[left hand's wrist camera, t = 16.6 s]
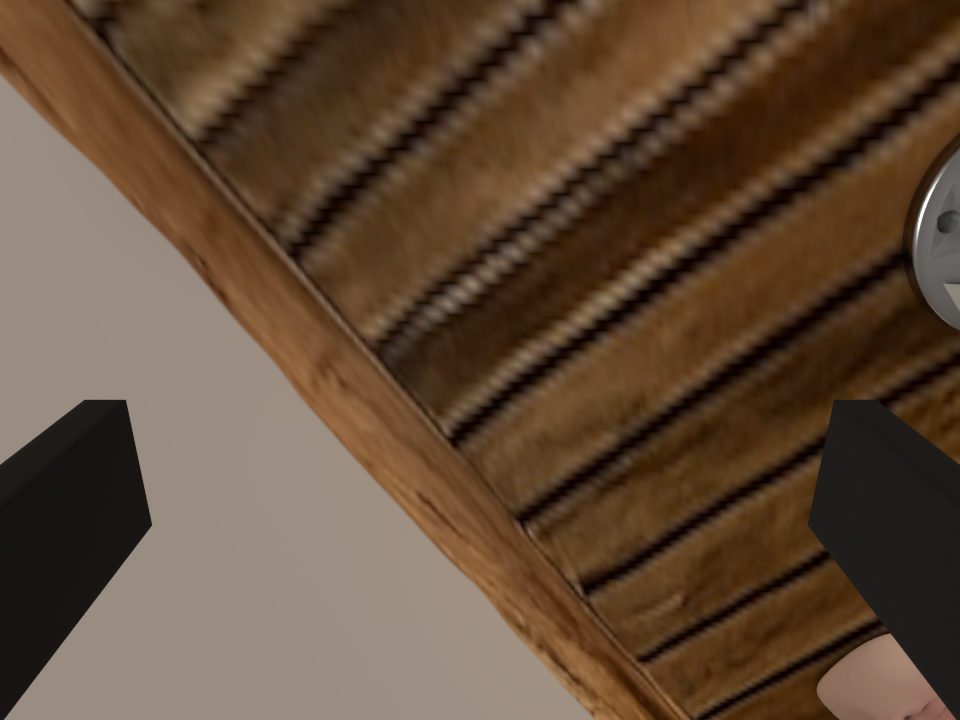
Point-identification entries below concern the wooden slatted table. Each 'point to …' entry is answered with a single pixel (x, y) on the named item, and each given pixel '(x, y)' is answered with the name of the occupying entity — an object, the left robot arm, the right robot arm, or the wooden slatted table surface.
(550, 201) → the wooden slatted table surface
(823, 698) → the anatomical model
